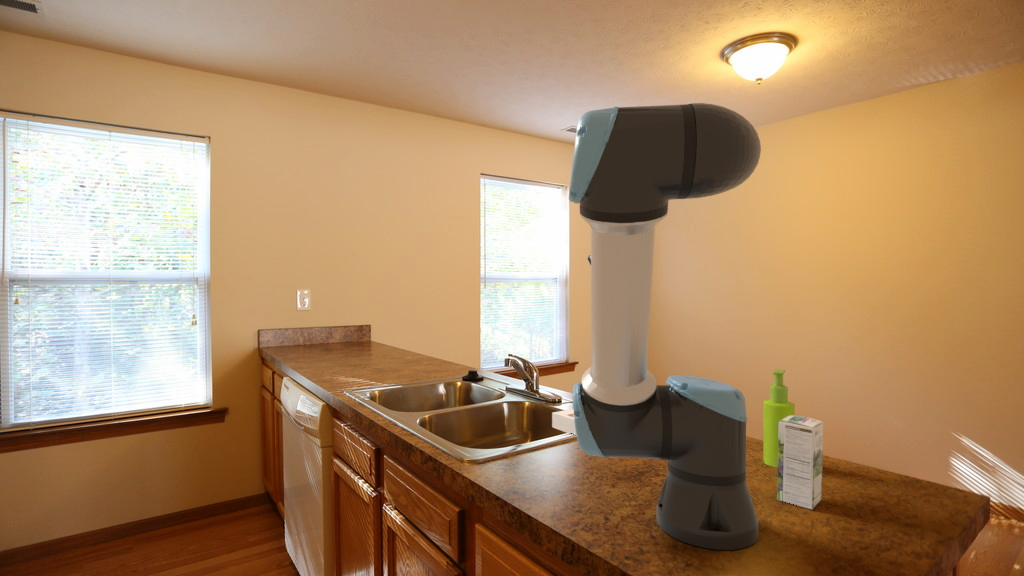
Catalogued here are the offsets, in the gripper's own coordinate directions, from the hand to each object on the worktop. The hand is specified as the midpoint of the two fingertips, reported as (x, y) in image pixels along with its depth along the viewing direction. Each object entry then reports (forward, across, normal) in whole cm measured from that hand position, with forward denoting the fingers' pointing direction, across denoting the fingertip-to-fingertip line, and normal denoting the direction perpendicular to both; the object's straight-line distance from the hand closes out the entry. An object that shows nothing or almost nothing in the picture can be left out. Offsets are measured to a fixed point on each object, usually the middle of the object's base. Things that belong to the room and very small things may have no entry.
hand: (611, 329), depth 113 cm
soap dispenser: (+29, +26, -24) cm, 46 cm away
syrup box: (+29, +10, -36) cm, 47 cm away
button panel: (+28, +16, +18) cm, 37 cm away
